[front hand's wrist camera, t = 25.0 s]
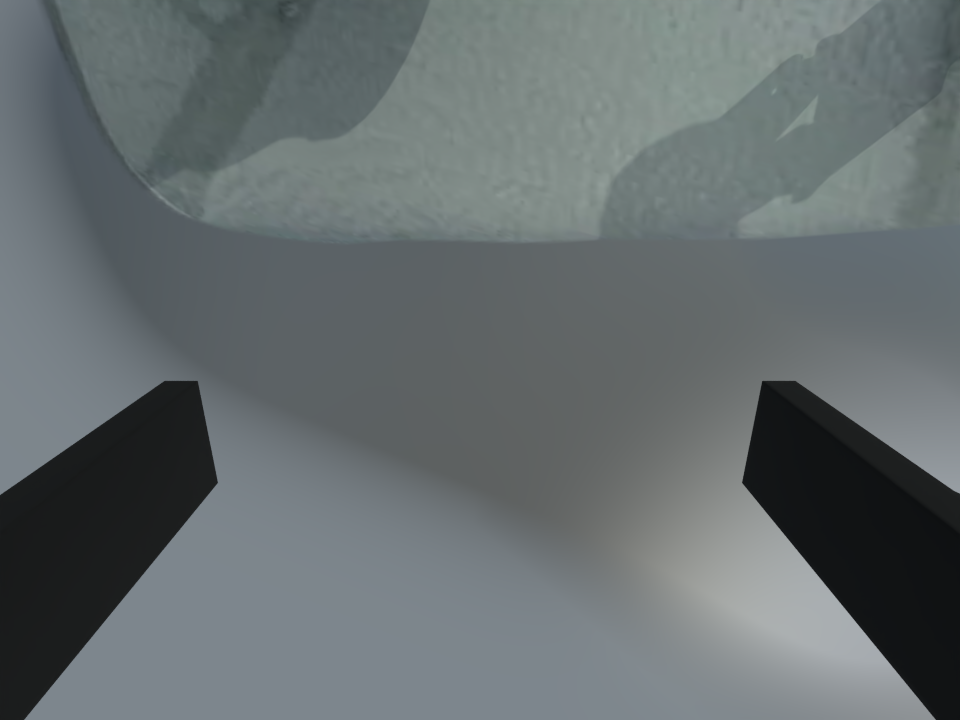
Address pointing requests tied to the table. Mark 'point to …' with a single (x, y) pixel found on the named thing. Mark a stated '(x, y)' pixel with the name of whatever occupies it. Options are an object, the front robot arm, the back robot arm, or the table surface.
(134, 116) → the table surface
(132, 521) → the front robot arm
